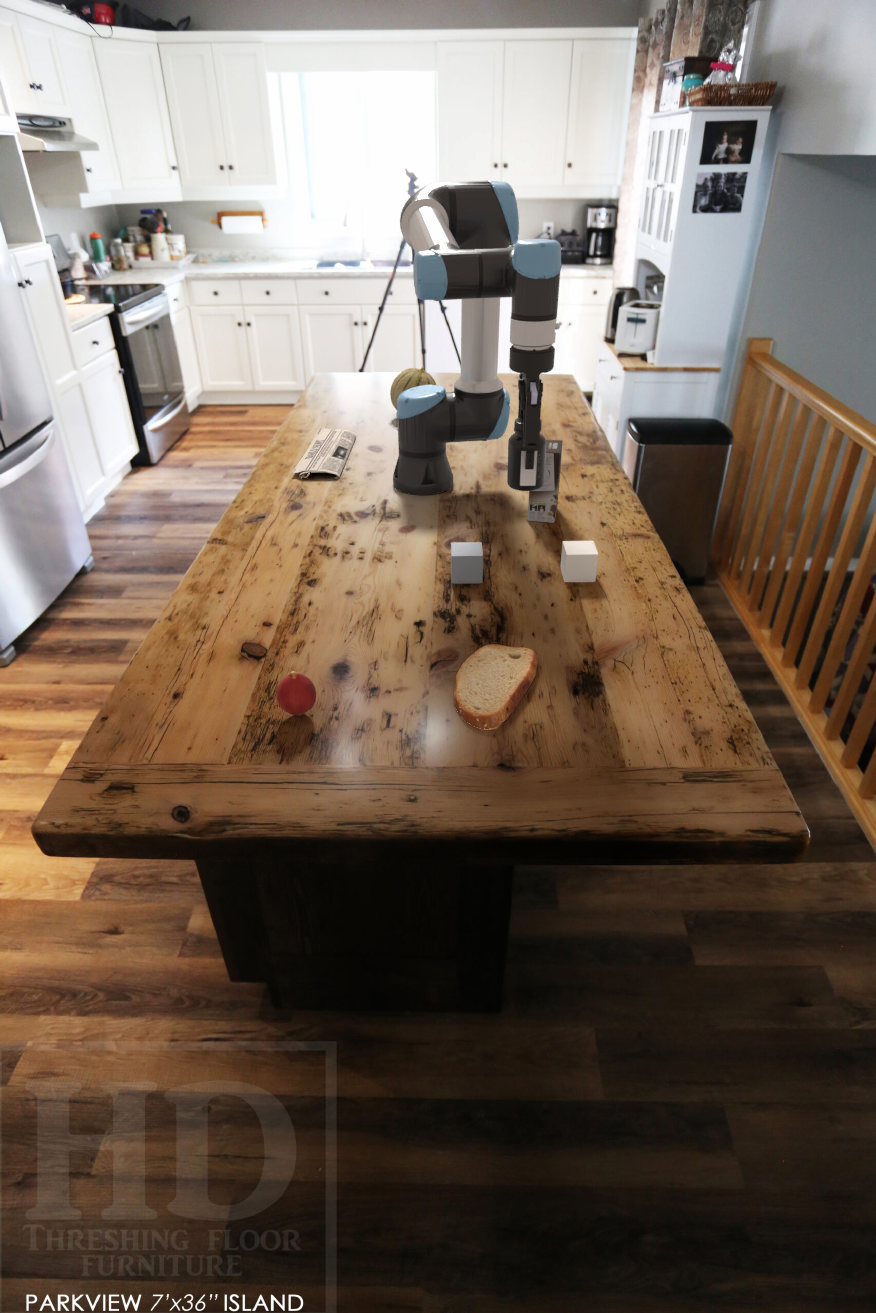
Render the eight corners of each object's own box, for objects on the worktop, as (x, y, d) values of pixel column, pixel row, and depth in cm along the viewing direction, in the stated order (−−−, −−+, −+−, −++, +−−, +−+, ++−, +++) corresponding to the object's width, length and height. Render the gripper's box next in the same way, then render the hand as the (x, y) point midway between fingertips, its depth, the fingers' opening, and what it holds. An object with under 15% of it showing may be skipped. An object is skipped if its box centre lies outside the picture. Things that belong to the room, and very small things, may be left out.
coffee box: (555, 523, 171) (560, 453, 162) (526, 521, 172) (530, 451, 163) (558, 507, 178) (563, 439, 169) (530, 505, 179) (534, 438, 170)
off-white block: (564, 582, 148) (566, 554, 144) (560, 568, 153) (562, 541, 149) (595, 582, 148) (598, 554, 144) (590, 568, 153) (593, 540, 149)
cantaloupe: (384, 414, 242) (382, 365, 234) (426, 408, 247) (425, 359, 239) (402, 426, 231) (400, 375, 223) (446, 420, 236) (445, 370, 228)
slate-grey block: (451, 584, 148) (451, 556, 145) (451, 569, 153) (450, 542, 149) (482, 583, 148) (482, 555, 144) (481, 569, 153) (481, 542, 149)
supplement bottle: (547, 480, 142) (551, 416, 135) (539, 494, 137) (543, 427, 130) (511, 476, 144) (514, 413, 137) (502, 489, 139) (504, 424, 132)
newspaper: (339, 481, 196) (338, 468, 194) (291, 481, 196) (289, 467, 194) (357, 437, 225) (356, 425, 223) (315, 437, 225) (314, 425, 223)
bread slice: (476, 737, 110) (476, 717, 108) (423, 674, 123) (422, 654, 121) (579, 703, 116) (581, 683, 114) (518, 646, 130) (519, 627, 128)
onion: (281, 703, 117) (274, 660, 112) (319, 701, 117) (314, 658, 112) (278, 727, 112) (271, 683, 107) (317, 725, 112) (312, 681, 108)
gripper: (562, 358, 119) (552, 497, 131) (548, 332, 135) (540, 458, 148) (514, 359, 119) (509, 498, 132) (505, 333, 135) (501, 459, 148)
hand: (525, 477), depth 140 cm, fingers closed on supplement bottle, 7 cm apart
